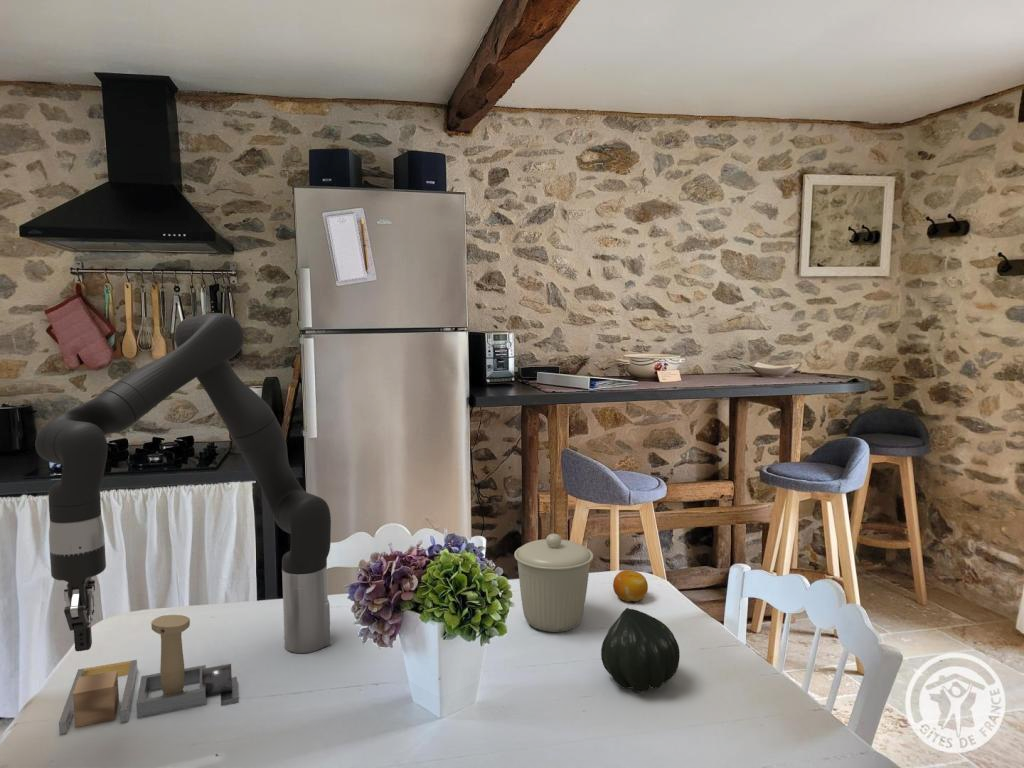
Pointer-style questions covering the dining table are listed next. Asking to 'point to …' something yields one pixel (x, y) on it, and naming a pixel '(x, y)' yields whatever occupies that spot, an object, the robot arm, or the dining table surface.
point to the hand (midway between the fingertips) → (83, 648)
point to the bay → (121, 668)
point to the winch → (209, 684)
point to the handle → (171, 651)
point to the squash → (640, 651)
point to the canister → (553, 582)
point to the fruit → (630, 585)
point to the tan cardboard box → (96, 698)
